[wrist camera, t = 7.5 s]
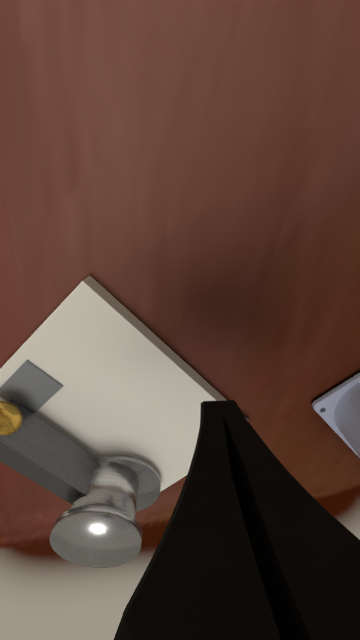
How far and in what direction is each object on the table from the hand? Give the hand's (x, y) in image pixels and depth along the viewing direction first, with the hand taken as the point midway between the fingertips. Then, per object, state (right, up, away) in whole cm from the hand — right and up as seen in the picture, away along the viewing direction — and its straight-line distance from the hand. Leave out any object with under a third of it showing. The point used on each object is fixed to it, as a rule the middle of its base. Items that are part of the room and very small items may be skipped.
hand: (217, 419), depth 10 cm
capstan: (-10, -7, +11) cm, 17 cm away
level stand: (-8, -5, +12) cm, 15 cm away
